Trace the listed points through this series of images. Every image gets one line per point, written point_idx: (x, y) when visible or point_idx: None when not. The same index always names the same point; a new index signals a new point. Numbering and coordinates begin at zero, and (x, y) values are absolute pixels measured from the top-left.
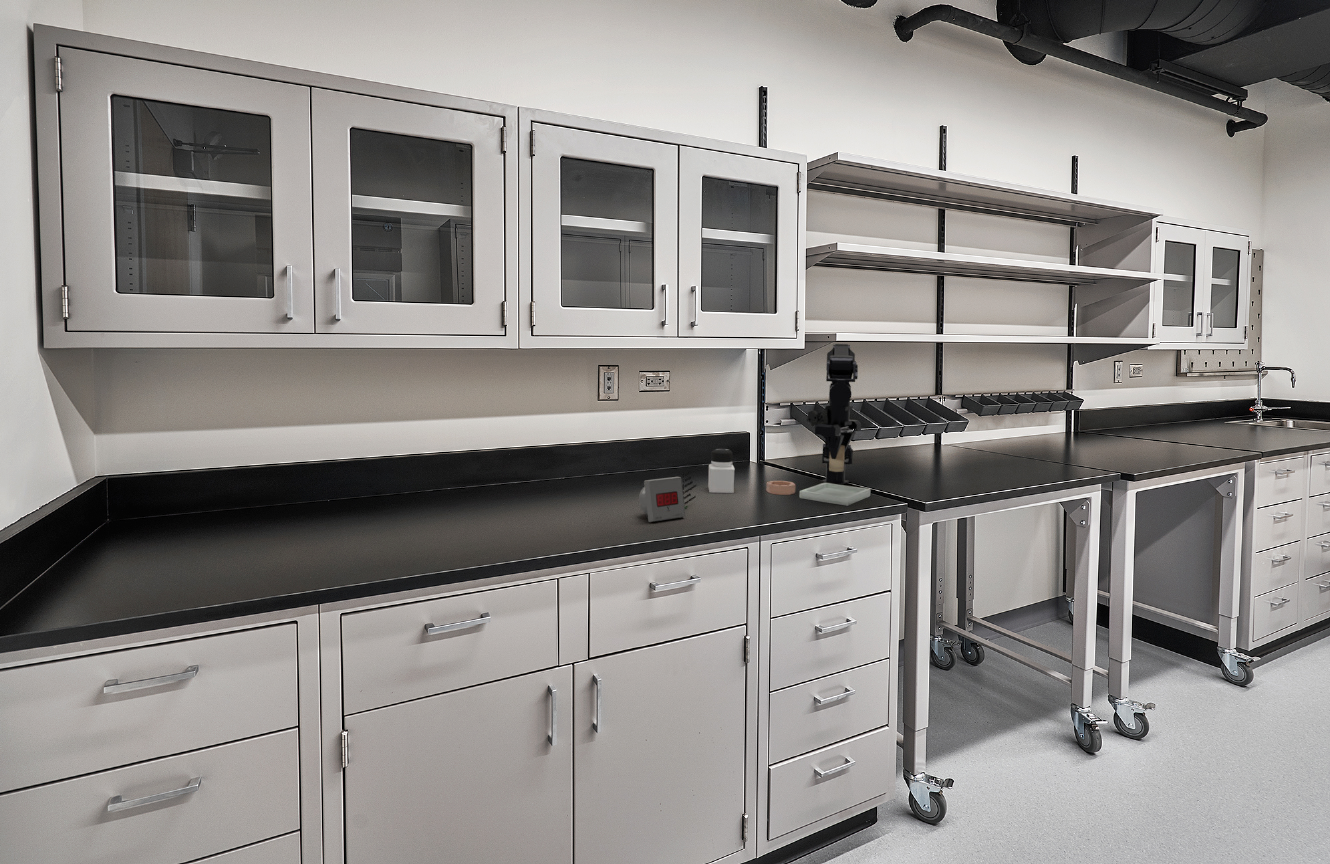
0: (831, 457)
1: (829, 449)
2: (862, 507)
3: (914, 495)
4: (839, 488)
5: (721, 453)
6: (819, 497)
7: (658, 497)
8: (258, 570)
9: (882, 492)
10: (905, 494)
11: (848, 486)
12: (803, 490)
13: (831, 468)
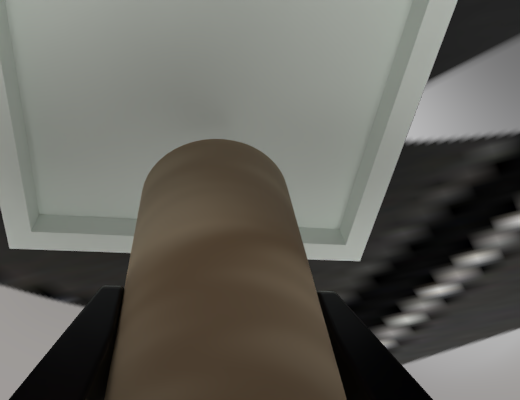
0: (95, 295)
1: (12, 397)
2: (52, 279)
3: (447, 345)
4: (390, 80)
5: None
6: None
7: None
8: None
9: (471, 250)
10: (456, 321)
11: (388, 148)
12: None
13: (143, 196)
